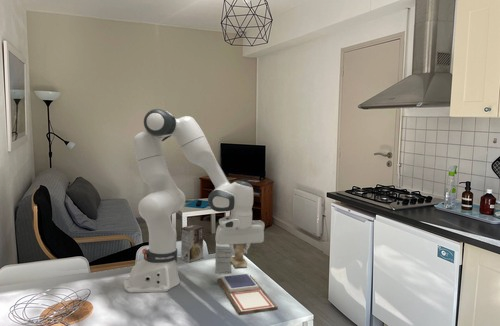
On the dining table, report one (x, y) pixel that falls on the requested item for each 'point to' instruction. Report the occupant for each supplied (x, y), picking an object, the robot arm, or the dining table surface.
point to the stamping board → (245, 291)
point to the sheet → (251, 300)
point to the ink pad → (239, 282)
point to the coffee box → (192, 243)
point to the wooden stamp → (238, 257)
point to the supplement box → (223, 259)
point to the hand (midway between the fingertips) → (239, 253)
